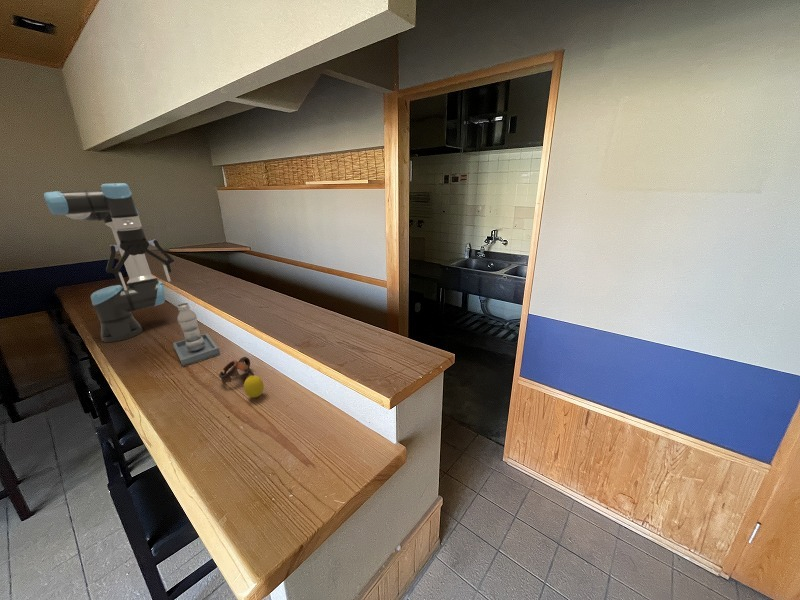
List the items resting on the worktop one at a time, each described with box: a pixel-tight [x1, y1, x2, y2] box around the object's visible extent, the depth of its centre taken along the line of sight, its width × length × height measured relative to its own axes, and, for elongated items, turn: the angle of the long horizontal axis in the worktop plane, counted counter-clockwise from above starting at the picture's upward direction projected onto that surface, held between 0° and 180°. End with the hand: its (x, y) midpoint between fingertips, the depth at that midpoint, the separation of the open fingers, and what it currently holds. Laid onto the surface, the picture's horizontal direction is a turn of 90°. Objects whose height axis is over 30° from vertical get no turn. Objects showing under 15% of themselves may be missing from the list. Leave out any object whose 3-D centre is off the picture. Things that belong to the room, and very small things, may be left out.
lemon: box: [243, 375, 265, 398], centre depth 100 cm, size 6×6×8 cm
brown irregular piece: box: [218, 356, 255, 384], centre depth 112 cm, size 12×10×8 cm
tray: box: [172, 332, 221, 368], centre depth 132 cm, size 20×13×3 cm, turn 42°
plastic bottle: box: [176, 302, 205, 351], centre depth 129 cm, size 6×7×20 cm
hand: (148, 285), depth 122 cm, fingers open, 13 cm apart
